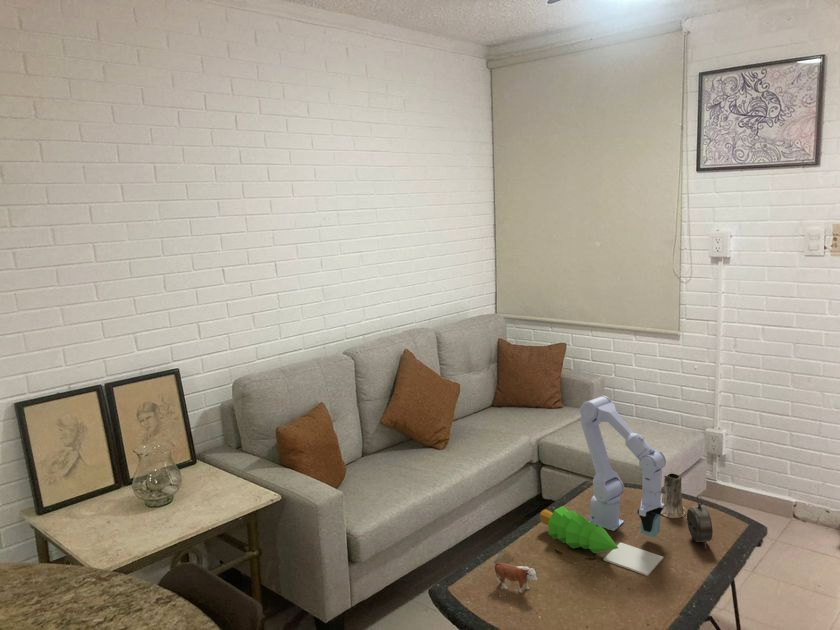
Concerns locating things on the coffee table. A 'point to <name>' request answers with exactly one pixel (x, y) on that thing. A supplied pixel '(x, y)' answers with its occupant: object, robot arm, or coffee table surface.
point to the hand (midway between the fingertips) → (650, 527)
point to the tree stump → (673, 497)
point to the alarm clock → (699, 523)
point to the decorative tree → (576, 530)
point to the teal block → (653, 527)
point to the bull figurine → (515, 574)
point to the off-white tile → (633, 559)
